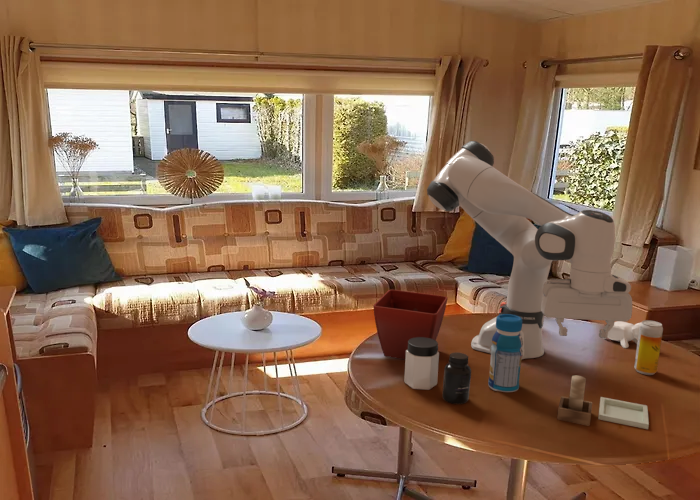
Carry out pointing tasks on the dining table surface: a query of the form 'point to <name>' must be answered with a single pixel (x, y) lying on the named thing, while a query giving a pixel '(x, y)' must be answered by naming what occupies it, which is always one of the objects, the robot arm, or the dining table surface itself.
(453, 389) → the supplement bottle
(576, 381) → the dowel
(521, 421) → the dining table surface
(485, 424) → the dining table surface
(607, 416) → the tray
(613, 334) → the white low-poly figurine
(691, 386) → the dining table surface
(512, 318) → the beverage bottle
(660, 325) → the beer can
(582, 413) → the open square box
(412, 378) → the jar
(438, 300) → the plant pot
